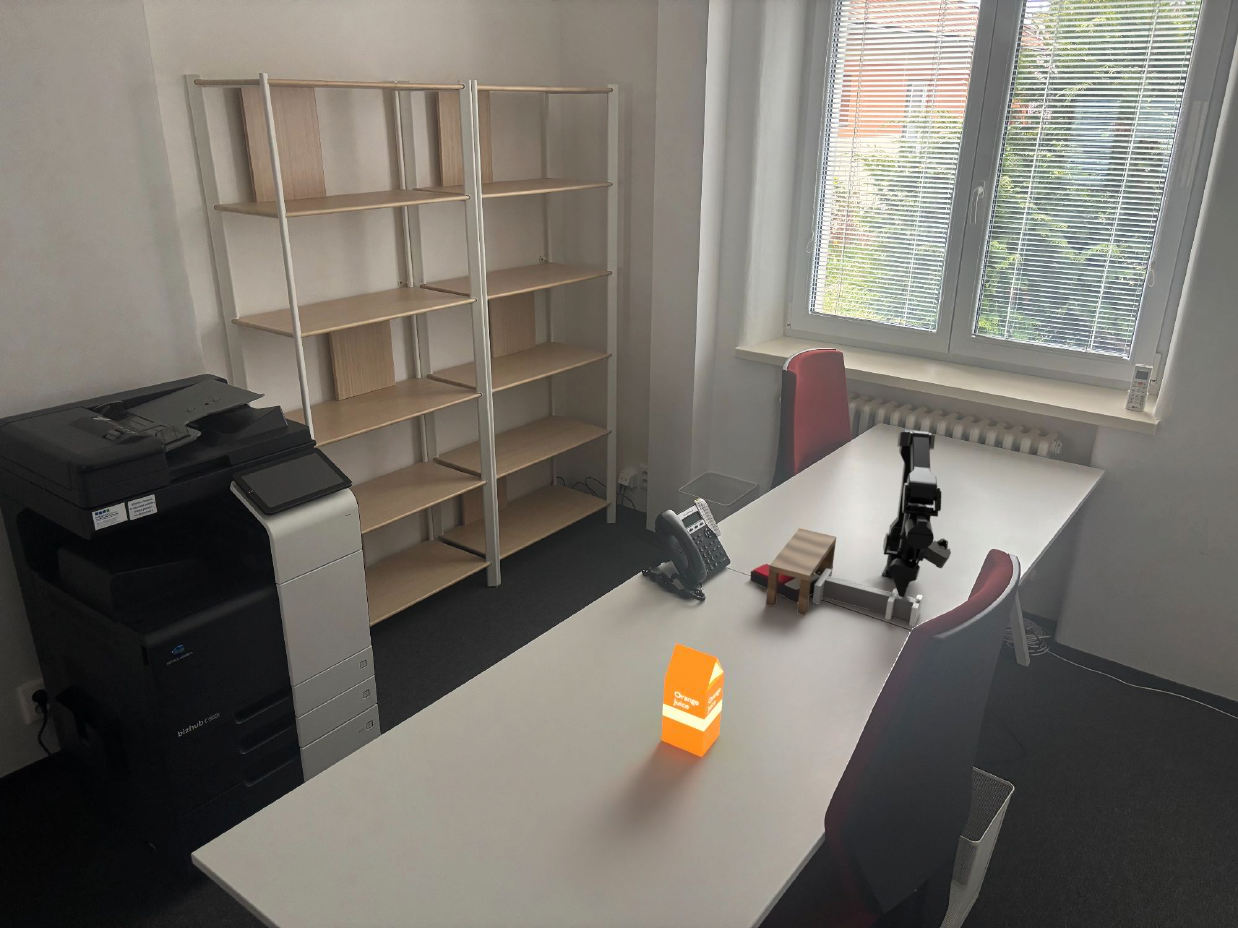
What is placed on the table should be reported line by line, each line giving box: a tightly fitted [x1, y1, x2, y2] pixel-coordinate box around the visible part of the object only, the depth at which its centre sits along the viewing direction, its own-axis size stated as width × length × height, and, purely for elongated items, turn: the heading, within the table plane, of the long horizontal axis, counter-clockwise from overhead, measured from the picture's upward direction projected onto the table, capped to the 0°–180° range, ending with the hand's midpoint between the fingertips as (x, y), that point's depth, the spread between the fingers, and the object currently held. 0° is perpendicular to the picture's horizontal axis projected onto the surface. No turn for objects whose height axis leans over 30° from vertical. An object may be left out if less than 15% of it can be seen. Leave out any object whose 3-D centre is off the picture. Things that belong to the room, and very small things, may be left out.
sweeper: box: [812, 568, 924, 627], centre depth 215 cm, size 10×24×5 cm, turn 61°
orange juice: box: [661, 642, 725, 758], centre depth 165 cm, size 8×9×20 cm
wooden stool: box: [765, 527, 837, 616], centre depth 221 cm, size 24×10×11 cm, turn 152°
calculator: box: [750, 559, 821, 604], centre depth 225 cm, size 11×4×15 cm
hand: (905, 588), depth 210 cm, fingers open, 9 cm apart
